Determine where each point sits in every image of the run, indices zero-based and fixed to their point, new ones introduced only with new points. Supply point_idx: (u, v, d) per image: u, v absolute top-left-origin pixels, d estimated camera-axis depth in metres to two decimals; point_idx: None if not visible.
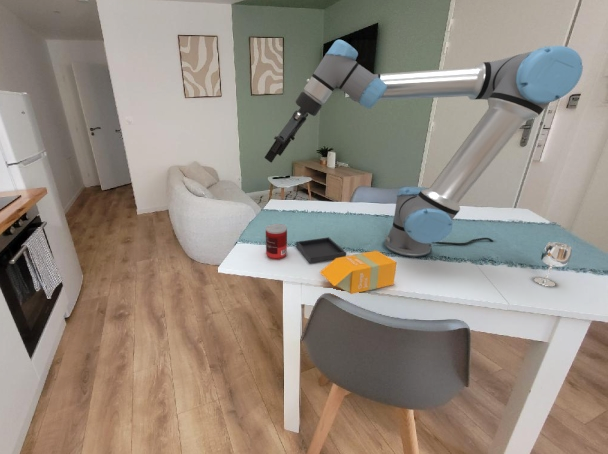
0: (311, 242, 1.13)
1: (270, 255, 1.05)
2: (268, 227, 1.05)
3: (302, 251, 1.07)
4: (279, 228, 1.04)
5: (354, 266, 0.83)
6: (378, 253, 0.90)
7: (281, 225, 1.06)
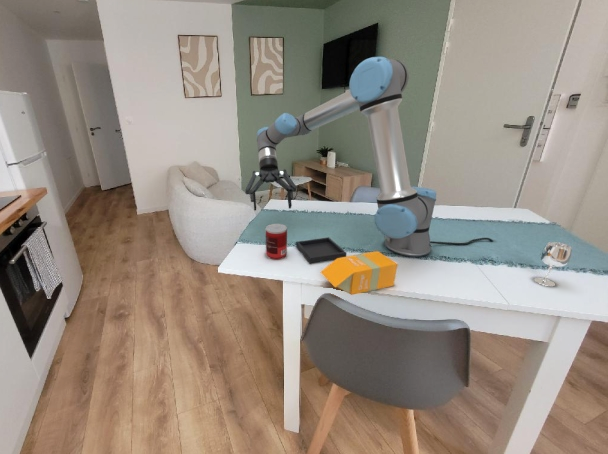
0: (311, 242, 1.13)
1: (270, 255, 1.05)
2: (268, 227, 1.05)
3: (302, 251, 1.07)
4: (279, 228, 1.04)
5: (355, 267, 0.83)
6: (379, 254, 0.90)
7: (281, 225, 1.06)
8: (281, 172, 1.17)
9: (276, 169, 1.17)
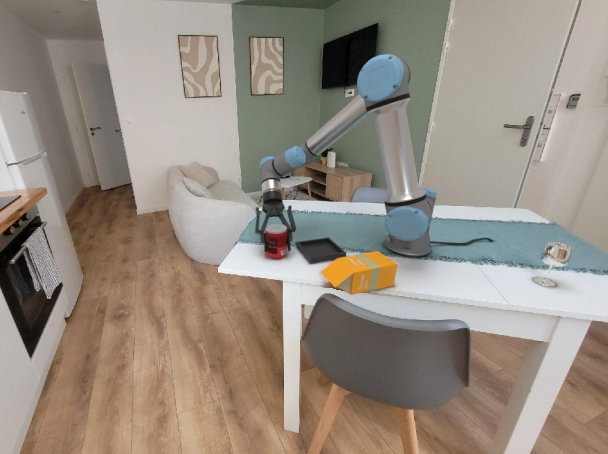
0: (311, 242, 1.13)
1: (270, 255, 1.05)
2: (268, 227, 1.05)
3: (302, 251, 1.07)
4: (279, 228, 1.04)
5: (355, 267, 0.83)
6: (379, 254, 0.90)
7: (281, 225, 1.06)
8: (286, 207, 1.09)
9: (280, 203, 1.09)
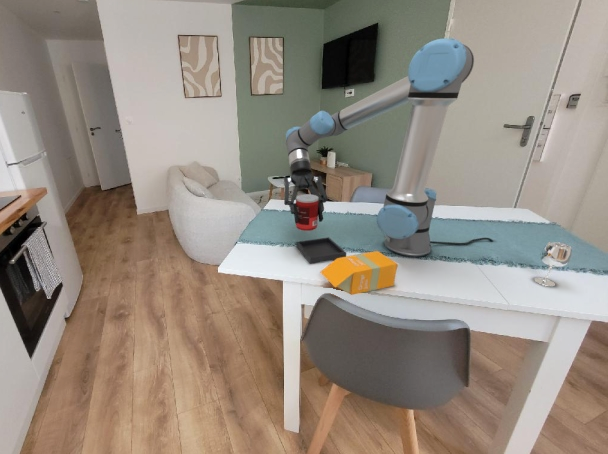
0: (311, 242, 1.13)
1: (301, 226, 1.00)
2: (298, 197, 1.00)
3: (302, 251, 1.07)
4: (310, 198, 1.00)
5: (355, 267, 0.83)
6: (379, 254, 0.90)
7: (312, 195, 1.02)
8: (315, 178, 1.05)
9: (310, 173, 1.05)
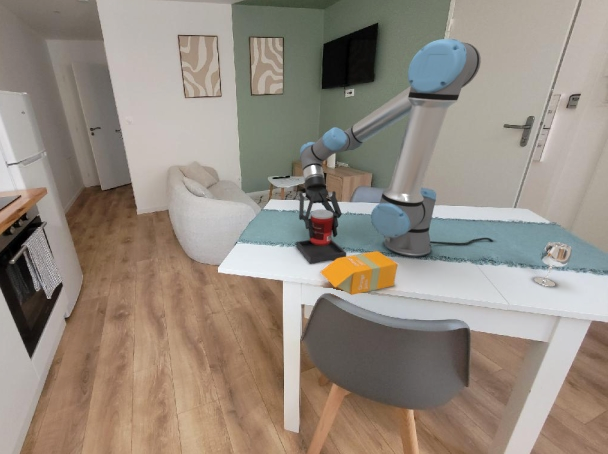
0: None
1: (315, 241, 1.03)
2: (313, 213, 1.03)
3: (302, 251, 1.07)
4: (325, 214, 1.02)
5: (355, 267, 0.83)
6: (379, 254, 0.90)
7: (326, 211, 1.04)
8: (329, 193, 1.08)
9: (324, 189, 1.08)
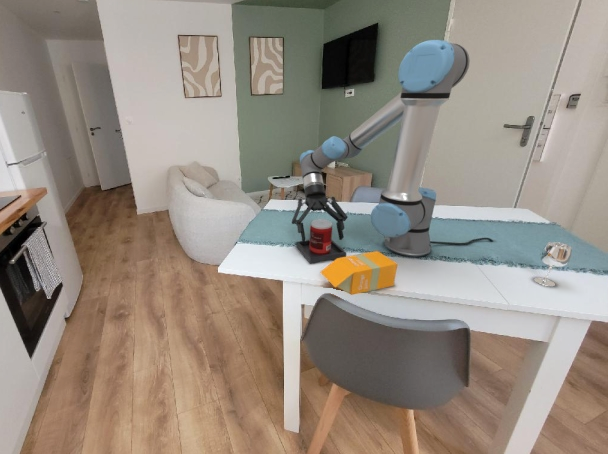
0: None
1: (315, 251, 1.05)
2: (313, 222, 1.05)
3: (302, 251, 1.07)
4: (324, 223, 1.04)
5: (355, 267, 0.83)
6: (379, 254, 0.90)
7: (325, 221, 1.06)
8: (329, 199, 1.09)
9: (324, 196, 1.09)
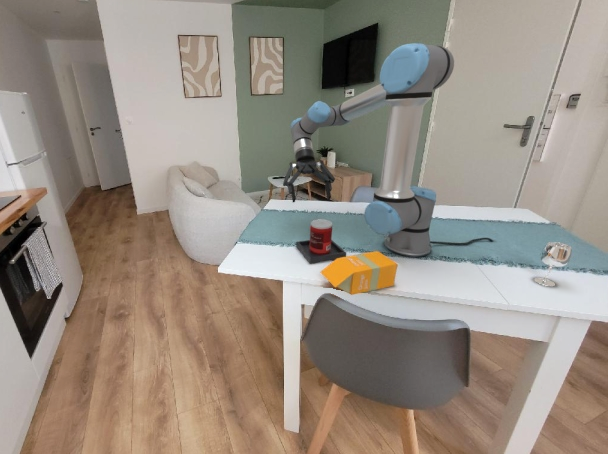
0: None
1: (315, 251, 1.05)
2: (313, 222, 1.05)
3: (302, 251, 1.07)
4: (324, 223, 1.04)
5: (355, 267, 0.83)
6: (379, 254, 0.90)
7: (325, 221, 1.06)
8: (318, 163, 1.16)
9: (313, 160, 1.16)
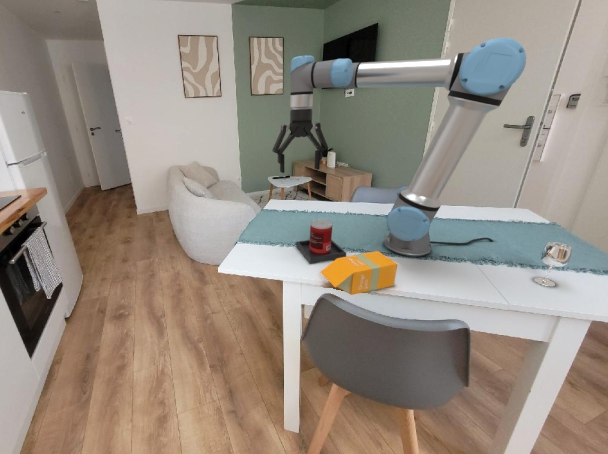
0: None
1: (315, 251, 1.05)
2: (313, 222, 1.05)
3: (302, 251, 1.07)
4: (324, 223, 1.04)
5: (355, 267, 0.83)
6: (379, 254, 0.90)
7: (325, 221, 1.06)
8: (314, 125, 1.02)
9: (310, 122, 1.00)
